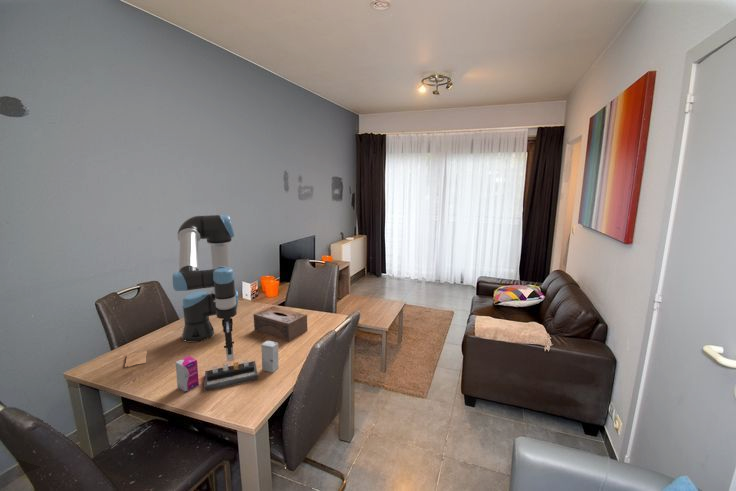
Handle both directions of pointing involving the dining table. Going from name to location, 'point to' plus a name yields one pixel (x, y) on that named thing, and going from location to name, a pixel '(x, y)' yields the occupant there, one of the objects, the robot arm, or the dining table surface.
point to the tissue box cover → (280, 323)
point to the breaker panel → (230, 375)
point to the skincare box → (270, 356)
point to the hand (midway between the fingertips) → (230, 360)
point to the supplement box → (187, 373)
